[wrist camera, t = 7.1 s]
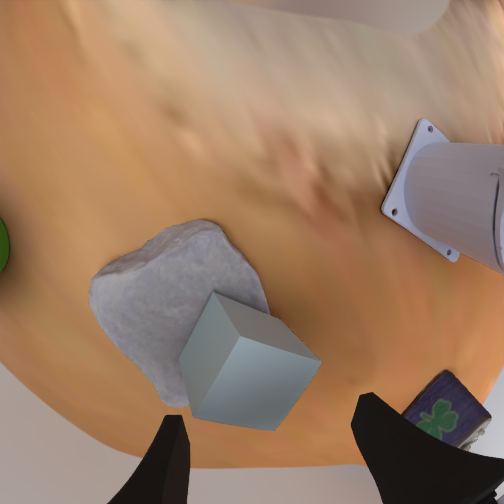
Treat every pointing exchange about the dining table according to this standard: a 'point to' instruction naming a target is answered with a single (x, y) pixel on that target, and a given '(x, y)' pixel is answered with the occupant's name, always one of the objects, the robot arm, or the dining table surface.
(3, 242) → the cup
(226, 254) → the stone block
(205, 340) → the cube
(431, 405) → the flask
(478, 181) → the robot arm
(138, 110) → the dining table surface
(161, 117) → the dining table surface
